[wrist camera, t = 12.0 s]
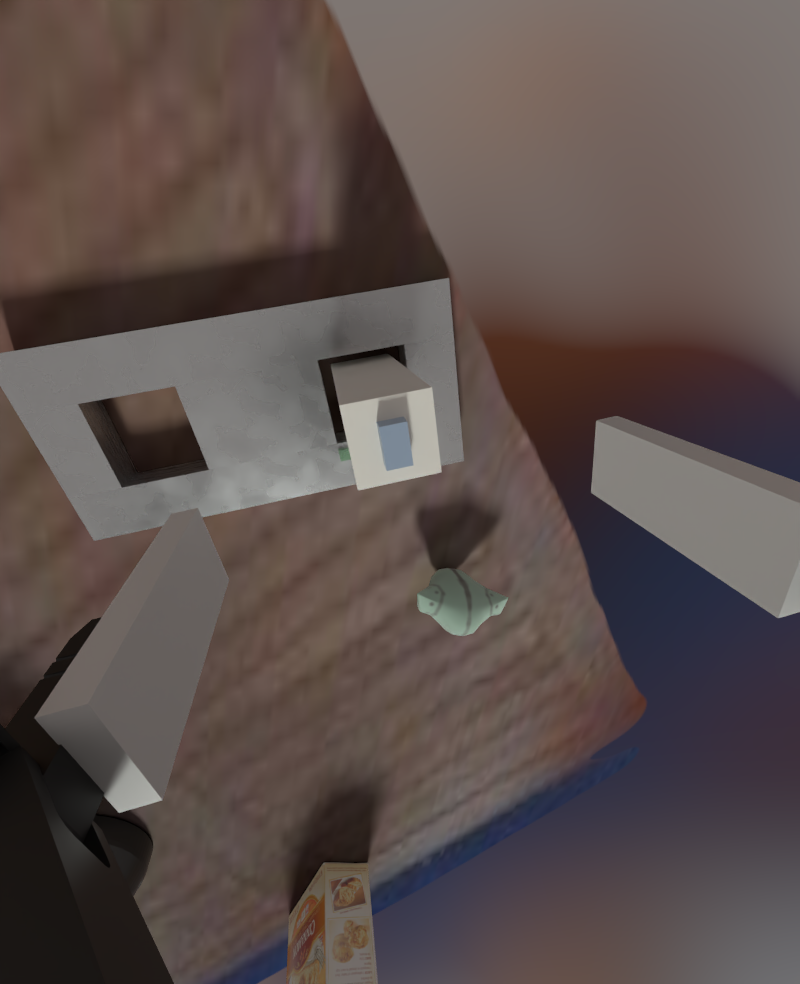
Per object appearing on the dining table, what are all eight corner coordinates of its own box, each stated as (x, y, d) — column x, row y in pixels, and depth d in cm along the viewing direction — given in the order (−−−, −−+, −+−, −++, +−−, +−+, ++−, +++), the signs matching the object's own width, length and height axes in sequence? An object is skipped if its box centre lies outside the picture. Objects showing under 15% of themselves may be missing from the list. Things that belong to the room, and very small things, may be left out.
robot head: (489, 558, 37) (522, 608, 31) (477, 593, 39) (506, 647, 33) (407, 552, 35) (425, 604, 29) (397, 589, 37) (413, 646, 31)
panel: (111, 522, 29) (92, 542, 27) (13, 351, 24) (-21, 356, 21) (453, 449, 32) (464, 461, 29) (437, 279, 26) (450, 277, 24)
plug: (342, 420, 29) (359, 498, 18) (330, 363, 27) (340, 410, 16) (396, 409, 29) (446, 479, 18) (387, 353, 28) (437, 391, 16)
